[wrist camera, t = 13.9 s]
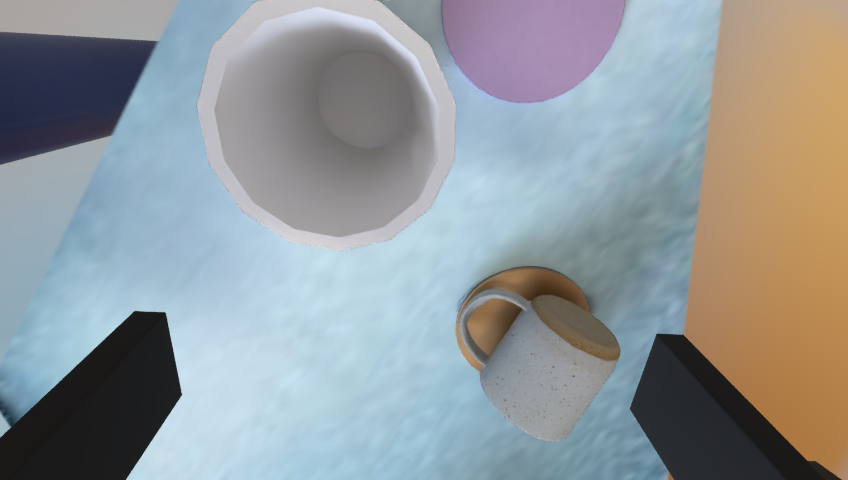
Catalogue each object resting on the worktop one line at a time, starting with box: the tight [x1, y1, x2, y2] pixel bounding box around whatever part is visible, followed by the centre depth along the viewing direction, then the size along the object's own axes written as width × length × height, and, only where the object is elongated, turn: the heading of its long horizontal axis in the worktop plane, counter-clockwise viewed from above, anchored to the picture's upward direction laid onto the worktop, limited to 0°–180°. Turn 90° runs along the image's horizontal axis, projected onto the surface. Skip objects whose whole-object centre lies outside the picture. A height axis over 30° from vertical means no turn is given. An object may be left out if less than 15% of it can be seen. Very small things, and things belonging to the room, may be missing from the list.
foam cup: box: [197, 0, 456, 251], centre depth 22 cm, size 10×9×13 cm
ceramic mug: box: [459, 289, 620, 442], centre depth 31 cm, size 11×8×8 cm
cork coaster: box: [456, 267, 590, 371], centre depth 35 cm, size 11×11×1 cm
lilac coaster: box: [442, 0, 625, 103], centre depth 25 cm, size 11×11×1 cm
